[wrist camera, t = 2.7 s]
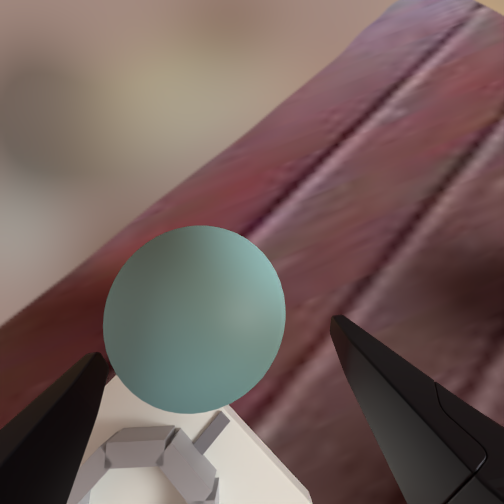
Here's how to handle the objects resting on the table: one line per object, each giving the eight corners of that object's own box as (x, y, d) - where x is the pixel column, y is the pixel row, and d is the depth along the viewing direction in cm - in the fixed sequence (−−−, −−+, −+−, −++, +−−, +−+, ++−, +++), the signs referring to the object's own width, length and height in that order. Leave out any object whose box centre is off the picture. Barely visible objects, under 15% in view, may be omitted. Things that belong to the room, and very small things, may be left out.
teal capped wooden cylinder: (233, 359, 17) (191, 465, 5) (192, 317, 18) (65, 315, 6) (273, 313, 18) (322, 304, 6) (232, 275, 18) (198, 195, 6)
